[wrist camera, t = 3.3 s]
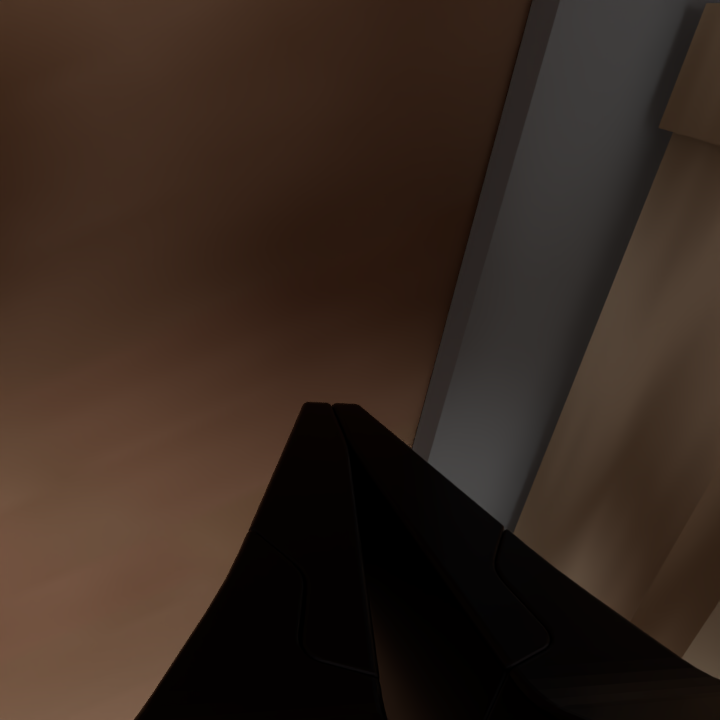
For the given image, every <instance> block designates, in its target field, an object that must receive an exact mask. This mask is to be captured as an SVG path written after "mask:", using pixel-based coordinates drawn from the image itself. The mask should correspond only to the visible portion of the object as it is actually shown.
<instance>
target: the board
mask: <svg viewBox="0 0 720 720" xmlns="http://www.w3.org/2000/svg"><path fill="white" fill-rule="evenodd" d="M706 3H720V0H532V4H531V8H530V12H529V15H528V19H527V23H526V27H525V30H524V34H523V38H522V41H521V45H520V49H519V53H518V56H517V60H516V64H515V67H514V71H513V75H512V79H511V82H510V86H509V90H508V94H507V97H506V101H505V105H504V108H503V112H502V116H501V120H500V123H499V127H498V131H497V135H496V138H495V142H494V146H493V149H492V153H491V157H490V161H489V164H488V168H487V172H486V175H485V179H484V183H483V187H482V190H481V194H480V198H479V202H478V205H477V209H476V213H475V216H474V220H473V224H472V228H471V231H470V235H469V239H468V242H467V246H466V250H465V254H464V257H463V261H462V265H461V269H460V272H459V276H458V280H457V283H456V287H455V291H454V295H453V298H452V302H451V306H450V310H449V313H448V317H447V321H446V324H445V328H444V332H443V336H442V339H441V343H440V347H439V350H438V354H437V358H436V362H435V365H434V369H433V373H432V377H431V380H430V384H429V388H428V391H427V395H426V399H425V403H424V406H423V410H422V414H421V417H420V421H419V425H418V429H417V432H416V436H415V440H414V444H413V447H412V450H414V451H415V452H416V453H417V454H418V455H420V456H421V457H422V458H423V459H424V460H426V461H427V462H428V463H429V464H430V465H432V466H433V467H434V468H435V469H436V470H438V471H439V472H440V473H441V474H442V475H443V476H445V477H446V478H447V479H448V480H449V481H451V482H452V483H453V484H454V485H455V486H457V487H458V488H459V489H460V490H461V491H463V492H464V493H465V494H466V495H467V496H469V497H470V498H471V499H472V500H473V501H475V502H476V503H477V504H478V505H479V506H481V507H482V508H483V509H484V510H485V511H487V512H488V513H489V514H490V515H491V516H493V517H494V518H495V519H496V520H497V521H499V522H500V523H501V524H502V525H503V526H504V530H505V529H508V530H510V531H511V532H512V533H514V530H515V528H516V525H517V523H518V520H519V518H520V515H521V512H522V510H523V507H524V505H525V502H526V500H527V497H528V495H529V492H530V490H531V487H532V485H533V482H534V480H535V477H536V475H537V472H538V470H539V467H540V465H541V462H542V460H543V457H544V455H545V452H546V450H547V447H548V445H549V442H550V440H551V437H552V435H553V432H554V430H555V427H556V425H557V422H558V420H559V417H560V415H561V412H562V410H563V407H564V405H565V402H566V400H567V397H568V395H569V392H570V389H571V387H572V384H573V382H574V379H575V377H576V374H577V372H578V369H579V367H580V364H581V362H582V359H583V357H584V354H585V352H586V349H587V347H588V344H589V342H590V339H591V337H592V334H593V332H594V329H595V327H596V324H597V322H598V319H599V317H600V314H601V312H602V309H603V307H604V304H605V302H606V299H607V297H608V294H609V292H610V289H611V287H612V284H613V282H614V279H615V277H616V274H617V272H618V269H619V266H620V264H621V261H622V259H623V256H624V254H625V251H626V249H627V246H628V244H629V241H630V239H631V236H632V234H633V231H634V229H635V226H636V224H637V221H638V219H639V216H640V214H641V211H642V209H643V206H644V204H645V201H646V199H647V196H648V194H649V191H650V189H651V186H652V184H653V181H654V179H655V176H656V174H657V171H658V169H659V166H660V164H661V161H662V159H663V156H664V154H665V151H666V149H667V146H668V143H669V141H670V138H671V136H672V133H673V132H671V131H667V130H664V129H661V128H658V127H659V125H660V122H661V119H662V117H663V114H664V112H665V109H666V106H667V104H668V101H669V99H670V96H671V94H672V91H673V88H674V86H675V83H676V81H677V78H678V75H679V73H680V70H681V68H682V65H683V62H684V60H685V57H686V55H687V52H688V50H689V47H690V44H691V42H692V39H693V37H694V34H695V31H696V29H697V26H698V24H699V21H700V18H701V16H702V13H703V11H704V8H705V6H706Z"/></svg>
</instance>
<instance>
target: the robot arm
mask: <svg viewBox="0 0 720 720" xmlns="http://www.w3.org/2000/svg"><path fill="white" fill-rule="evenodd" d="M134 720H720V679H717V678H715V677H713V676H711V675H709V674H707V673H705V672H703V671H702V670H700V669H698V668H696V667H694V666H693V665H691V664H690V663H688V662H687V661H685V660H684V659H682V658H681V657H679V656H678V655H676V654H675V653H674V652H672V651H671V650H669V649H668V648H667V647H665V646H664V645H662V644H661V643H660V642H658V641H657V640H655V639H654V638H652V637H651V636H650V635H648V634H647V633H645V632H644V631H643V630H641V629H640V628H638V627H637V626H636V625H634V624H633V623H631V622H630V621H628V620H627V619H626V618H624V617H623V616H621V615H620V614H619V613H617V612H616V611H614V610H613V609H612V608H610V607H609V606H607V605H606V604H604V603H603V602H602V601H600V600H599V599H597V598H596V597H595V596H593V595H592V594H590V593H589V592H588V591H586V590H585V589H584V588H582V587H581V586H580V585H578V584H577V583H575V582H574V581H573V580H571V579H570V578H569V577H567V576H566V575H565V574H563V573H562V572H561V571H559V570H558V569H557V568H555V567H554V566H553V565H552V564H550V563H549V562H548V561H547V560H545V559H544V558H543V557H541V556H540V555H539V554H538V553H536V552H535V551H534V550H533V549H531V548H530V547H529V546H528V545H526V544H525V543H524V542H523V541H522V540H520V539H519V538H518V537H517V536H516V535H514V534H513V533H512V532H511V531H510V530H508V529H505V530H504V526H503V525H502V524H501V523H500V522H499V521H497V520H496V519H495V518H494V517H493V516H491V515H490V514H489V513H488V512H487V511H485V510H484V509H483V508H482V507H481V506H479V505H478V504H477V503H476V502H475V501H473V500H472V499H471V498H470V497H469V496H467V495H466V494H465V493H464V492H463V491H461V490H460V489H459V488H458V487H457V486H455V485H454V484H453V483H452V482H451V481H449V480H448V479H447V478H446V477H445V476H443V475H442V474H441V473H440V472H439V471H438V470H436V469H435V468H434V467H433V466H432V465H430V464H429V463H428V462H427V461H426V460H424V459H423V458H422V457H421V456H420V455H418V454H417V453H416V452H415V451H414V450H412V449H411V448H410V447H409V446H408V445H406V444H405V443H404V442H403V441H402V440H400V439H399V438H398V437H397V436H396V435H394V434H393V433H392V432H391V431H390V430H388V429H387V428H386V427H385V426H384V425H382V424H381V423H380V422H379V421H378V420H376V419H375V418H374V417H373V416H372V415H370V414H369V413H368V412H367V411H366V410H364V409H363V408H362V407H361V406H359V405H357V404H344V403H335V404H333V405H332V406H331V405H330V404H329V403H321V402H306V403H304V404H303V406H302V408H301V411H300V413H299V415H298V417H297V420H296V422H295V424H294V427H293V429H292V431H291V434H290V436H289V438H288V441H287V443H286V445H285V447H284V450H283V452H282V454H281V457H280V459H279V461H278V464H277V466H276V468H275V471H274V473H273V475H272V478H271V480H270V482H269V484H268V487H267V489H266V491H265V494H264V496H263V498H262V501H261V503H260V505H259V508H258V510H257V512H256V515H255V517H254V519H253V521H252V524H251V526H250V528H249V532H248V533H247V534H246V537H245V539H244V541H243V544H242V546H241V548H240V550H239V553H238V555H237V557H236V559H235V561H234V563H233V565H232V567H231V569H230V571H229V573H228V575H227V577H226V579H225V581H224V583H223V584H222V586H221V588H220V589H219V591H218V593H217V594H216V596H215V598H214V599H213V601H212V603H211V604H210V606H209V608H208V609H207V611H206V613H205V614H204V616H203V617H202V619H201V620H200V622H199V623H198V625H197V626H196V628H195V629H194V631H193V632H192V634H191V636H190V637H189V639H188V640H187V642H186V643H185V645H184V646H183V648H182V649H181V651H180V652H179V654H178V655H177V657H176V658H175V660H174V661H173V663H172V665H171V666H170V668H169V669H168V671H167V672H166V674H165V675H164V677H163V678H162V680H161V681H160V683H159V684H158V686H157V687H156V689H155V691H154V692H153V694H152V695H151V696H150V698H149V699H148V701H147V702H146V704H145V705H144V707H143V708H142V709H141V711H140V712H139V714H138V715H137V716H136V717H135V719H134Z"/></svg>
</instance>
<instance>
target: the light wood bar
mask: <svg viewBox="0 0 720 720" xmlns="http://www.w3.org/2000/svg"><path fill="white" fill-rule="evenodd" d="M658 128H661V129H664V130H667V131H671V132H673V133H672V136H671V138H670V141H669V143H668V146H667V149H666V151H665V154H664V156H663V159H662V161H661V164H660V166H659V169H658V171H657V174H656V176H655V179H654V181H653V184H652V186H651V189H650V191H649V194H648V196H647V199H646V201H645V204H644V206H643V209H642V211H641V214H640V216H639V219H638V221H637V224H636V226H635V229H634V231H633V234H632V236H631V239H630V241H629V244H628V246H627V249H626V251H625V254H624V256H623V259H622V261H621V264H620V266H619V269H618V272H617V274H616V277H615V279H614V282H613V284H612V287H611V289H610V292H609V294H608V297H607V299H606V302H605V304H604V307H603V309H602V312H601V314H600V317H599V319H598V322H597V324H596V327H595V329H594V332H593V334H592V337H591V339H590V342H589V344H588V347H587V349H586V352H585V354H584V357H583V359H582V362H581V364H580V367H579V369H578V372H577V374H576V377H575V379H574V382H573V384H572V387H571V389H570V392H569V395H568V397H567V400H566V402H565V405H564V407H563V410H562V412H561V415H560V417H559V420H558V422H557V425H556V427H555V430H554V432H553V435H552V437H551V440H550V442H549V445H548V447H547V450H546V452H545V455H544V457H543V460H542V462H541V465H540V467H539V470H538V472H537V475H536V477H535V480H534V482H533V485H532V487H531V490H530V492H529V495H528V497H527V500H526V502H525V505H524V507H523V510H522V512H521V515H520V518H519V520H518V523H517V525H516V528H515V530H514V533H513V534H514V535H516V536H517V537H518V538H519V539H520V540H522V541H523V542H524V543H525V544H526V545H528V546H529V547H530V548H531V549H533V550H534V551H535V552H536V553H538V554H539V555H540V556H541V557H543V558H544V559H545V560H547V561H548V562H549V563H550V564H552V565H553V566H554V567H555V568H557V569H558V570H559V571H561V572H562V573H563V574H565V575H566V576H567V577H569V578H570V579H571V580H573V581H574V582H575V583H577V584H578V585H580V586H581V587H582V588H584V589H585V590H586V591H588V592H589V593H590V594H592V595H593V596H595V597H596V598H597V599H599V600H600V601H602V602H603V603H604V604H606V605H607V606H609V607H610V608H612V609H613V610H614V611H616V612H617V613H619V614H620V615H621V616H623V617H624V618H626V619H627V620H628V621H630V622H631V623H633V624H634V625H636V626H637V627H638V628H640V629H641V630H643V631H644V632H645V633H647V634H648V635H650V636H651V637H652V638H654V639H655V640H657V641H658V642H660V643H661V644H662V645H664V646H665V647H667V648H668V649H669V650H671V651H672V652H674V653H675V654H676V655H678V656H679V657H681V658H682V659H684V660H685V661H687V662H688V663H690V664H691V665H693V666H694V667H696V668H698V669H700V670H702V671H703V672H705V673H707V674H709V675H711V676H713V677H715V678H717V679H720V3H706V6H705V8H704V11H703V13H702V16H701V18H700V21H699V24H698V26H697V29H696V31H695V34H694V37H693V39H692V42H691V44H690V47H689V50H688V52H687V55H686V57H685V60H684V62H683V65H682V68H681V70H680V73H679V75H678V78H677V81H676V83H675V86H674V88H673V91H672V94H671V96H670V99H669V101H668V104H667V106H666V109H665V112H664V114H663V117H662V119H661V122H660V125H659V127H658Z"/></svg>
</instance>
